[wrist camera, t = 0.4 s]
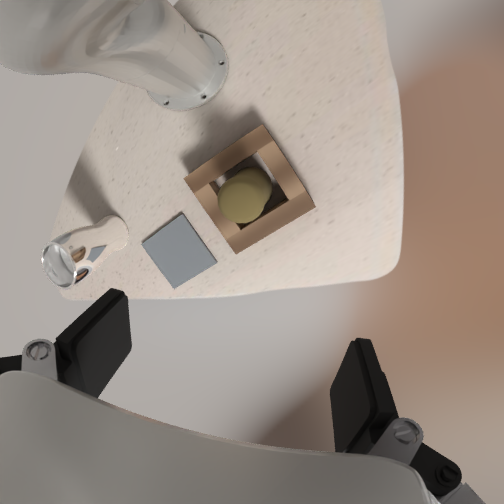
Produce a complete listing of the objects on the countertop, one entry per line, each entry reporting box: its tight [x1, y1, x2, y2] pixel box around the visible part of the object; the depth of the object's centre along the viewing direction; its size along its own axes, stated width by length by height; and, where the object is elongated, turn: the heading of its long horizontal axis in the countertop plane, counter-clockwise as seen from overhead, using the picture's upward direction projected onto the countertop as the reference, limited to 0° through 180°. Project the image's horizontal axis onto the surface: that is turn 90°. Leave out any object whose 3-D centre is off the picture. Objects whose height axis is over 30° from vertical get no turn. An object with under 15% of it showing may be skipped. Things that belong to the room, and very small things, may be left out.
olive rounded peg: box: [217, 167, 273, 223], centre depth 35 cm, size 6×6×11 cm
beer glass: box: [41, 215, 129, 290], centre depth 38 cm, size 7×7×15 cm
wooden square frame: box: [184, 124, 316, 254], centre depth 39 cm, size 13×13×3 cm
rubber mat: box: [141, 214, 217, 289], centre depth 44 cm, size 9×9×1 cm
